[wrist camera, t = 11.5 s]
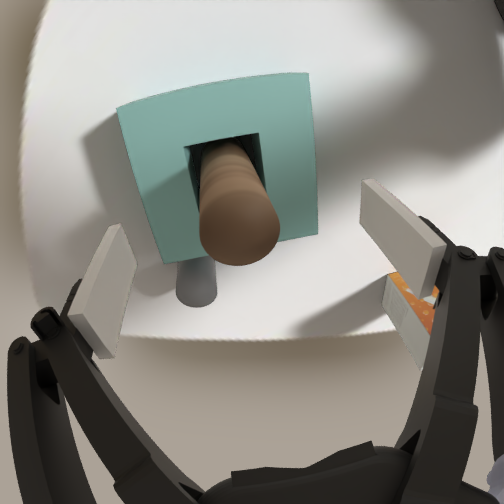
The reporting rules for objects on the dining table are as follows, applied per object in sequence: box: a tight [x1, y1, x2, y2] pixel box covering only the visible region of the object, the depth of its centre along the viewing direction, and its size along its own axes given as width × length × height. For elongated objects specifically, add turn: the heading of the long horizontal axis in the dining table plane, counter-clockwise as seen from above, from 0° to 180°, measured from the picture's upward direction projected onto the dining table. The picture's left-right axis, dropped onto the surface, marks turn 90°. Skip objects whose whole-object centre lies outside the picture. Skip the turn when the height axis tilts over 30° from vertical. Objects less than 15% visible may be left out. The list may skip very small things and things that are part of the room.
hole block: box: [116, 73, 318, 264], centre depth 24 cm, size 14×14×5 cm
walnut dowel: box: [199, 137, 280, 266], centre depth 20 cm, size 4×4×14 cm
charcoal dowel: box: [176, 255, 217, 308], centre depth 30 cm, size 4×4×5 cm
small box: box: [382, 272, 439, 370], centre depth 34 cm, size 8×6×13 cm
